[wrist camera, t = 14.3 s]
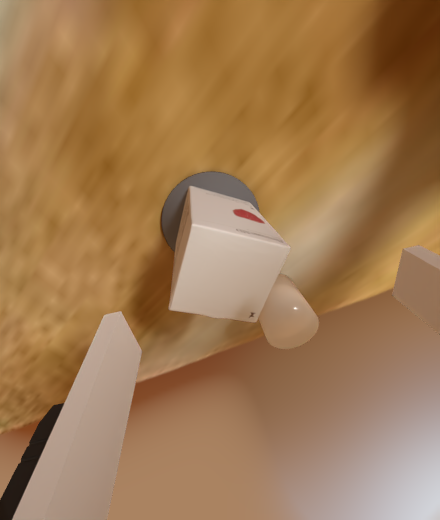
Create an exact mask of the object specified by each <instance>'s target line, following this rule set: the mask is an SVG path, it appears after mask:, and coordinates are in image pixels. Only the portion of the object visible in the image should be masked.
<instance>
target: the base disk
mask: <svg viewBox="0 0 440 520" xmlns="http://www.w3.org/2000/svg"><path fill="white" fill-rule="evenodd" d="M189 186H194V187H197V188H201V189H205V190H208V191H212V192H215V193H219V194H222V195H226V196H230V197H233V198H237V199H240V200H243V201H247V202H250V203H251V204H252V205H253V206H254V208H255V209H256V210H257V211H258V212H259V207H258V204H257V201H256V199H255V197H254V195H253V194H252V192H251V191H250V190H249V188H248V187H247V186H246V185H245V184H243V183H242V182H241V181H240V180H238V179H237V178H235V177H233V176H231V175H228V174H225V173H221V172H202V173H198V174H195V175H192V176H190V177H188V178H186V179H185V180H183V181H182V182H180V183H179V184H178V185H177V186H176V187H175V188H174V189H173V190H172V191H171V193H170V194H169V196H168V198H167V200H166V202H165V205H164V208H163V212H162V229H163V233H164V236H165V239H166V241H167V243H168V244H169V246H170V247H171V249H172V250H173V251H174V252H175V248H176V240H177V236H178V231H179V227H180V222H181V218H182V214H183V209H184V205H185V200H186V196H187V192H188V188H189Z"/></svg>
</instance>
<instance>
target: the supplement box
mask: <svg viewBox="0 0 440 520" xmlns="http://www.w3.org/2000/svg"><path fill="white" fill-rule="evenodd" d="M290 249H291V248H290V246H289V245H288V244H287V243H286V242H285V241H284V240H283V239H282V237H281V236H280V235H279V234H278V233H277V232H276V231H275V230H274V229H273V227H272V226H271V225H270V224H269V223H268V222H267V221H266V220H265V219H264V218H263V216H262V215H261V214H260V213H259V212H258V211H257V210H256V209H255V208H254V206H253V205H252V204H251V203H250V202H247V201H243V200H240V199H237V198H233V197H230V196H226V195H222V194H219V193H215V192H212V191H208V190H205V189H201V188H197V187H194V186H189V188H188V192H187V196H186V200H185V205H184V209H183V214H182V218H181V222H180V227H179V231H178V236H177V240H176V248H175V257H174V267H173V276H172V286H171V295H170V302H169V310H171V311H177V312H184V313H191V314H198V315H205V316H208V317H211V318H225V319H232V320H239V321H245V322H252V323H256V322H257V320H258V317H259V315H260V313H261V311H262V309H263V306H264V304H265V302H266V300H267V298H268V295H269V293H270V291H271V289H272V287H273V285H274V283H275V281H276V279H277V277H278V275H279V273H280V271H281V269H282V267H283V265H284V262H285V260H286V258H287V256H288V253H289V251H290Z"/></svg>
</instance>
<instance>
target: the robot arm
mask: <svg viewBox="0 0 440 520" xmlns="http://www.w3.org/2000/svg"><path fill="white" fill-rule="evenodd" d="M392 296H393V297H394V298H396V299H397V300H398V301H399V302H400V303H402V304H403V305H404V306H405V307H407V308H408V309H409V310H410V311H412V312H413V313H414V314H415V315H416V316H417V317H419V318H420V319H421V320H422V321H423V322H425V323H426V324H427V325H428V326H430V327H431V328H432V329H433V330H434V331H436V332H437V333H438V334H439V335H440V256H439V255H437V254H435V253H433V252H431V251H429V250H427V249H426V248H424V247H422V246H420V245H418V246H413V247H409V248H404V249H403V250H402V255H401V259H400V264H399V268H398V272H397V277H396V281H395V285H394V290H393V294H392ZM141 354H142V350H141V348H140V346H139V345H138V343H137V341H136V339H135V337H134V335H133V333H132V331H131V329H130V327H129V326H128V324H127V322H126V320H125V318H124V316H123V314H122V312H121V311H120V312H115V313H111V314H106V315H104V317H103V319H102V321H101V323H100V326H99V328H98V330H97V332H96V335H95V337H94V339H93V341H92V343H91V346H90V348H89V350H88V352H87V355H86V357H85V359H84V361H83V363H82V366H81V368H80V370H79V372H78V374H77V377H76V379H75V381H74V383H73V386H72V388H71V390H70V392H69V394H68V397H67V399H66V401H65V403H62V404H58V405H53V407H52V408H51V409H50V410H49V412H48V413H47V414H46V415H45V416H44V418H43V419H42V420H41V421H40V423H39V424H38V426H37V429H36V430H35V432H34V434H33V436H32V438H31V440H30V442H29V443H30V445H29V446H28V447H27V448H26V450H25V452H24V454H23V456H22V458H21V463H20V464H18V466H17V468H16V470H15V472H14V474H13V476H12V478H11V480H10V482H9V484H8V486H7V488H6V490H5V492H4V494H3V496H2V498H1V500H0V520H107V517H108V511H109V507H110V503H111V498H112V493H113V488H114V484H115V479H116V474H117V469H118V464H119V459H120V455H121V450H122V445H123V440H124V436H125V431H126V426H127V421H128V416H129V412H130V407H131V402H132V397H133V393H134V388H135V383H136V378H137V373H138V369H139V364H140V359H141Z"/></svg>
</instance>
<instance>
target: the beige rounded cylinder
mask: <svg viewBox="0 0 440 520" xmlns="http://www.w3.org/2000/svg"><path fill="white" fill-rule="evenodd" d="M258 319H259V322H260V324H261V327H262V329H263V332H264V334H265V337H266V339H267V341H268V342H269V344H270V345H272V346H273V347H275V348H279V349H292V348H296V347H298V346H301V345H303V344H305V343H306V342H308V341H309V340H310V339H311V338H312V337H313V336H314V335H315V334H316V332H317V330H318V327H319V319H318V317H317V315H316V314H315V312H314V311H313V309H312V308H311V307H310V305H309V304H308V302H307V301H306V300H305V298H304V297H303V295H302V294H301V293H300V291H299V290H298V288H297V287H296V286H295V284H294V283H293V282H292V280H291V279H290V278H289V277H288V276H286V275H283V274H279V275H278V277H277V279H276V281H275V283H274V285H273V287H272V289H271V291H270V293H269V295H268V298H267V300H266V302H265V304H264V306H263V309H262V311H261V313H260V315H259V317H258Z"/></svg>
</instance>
